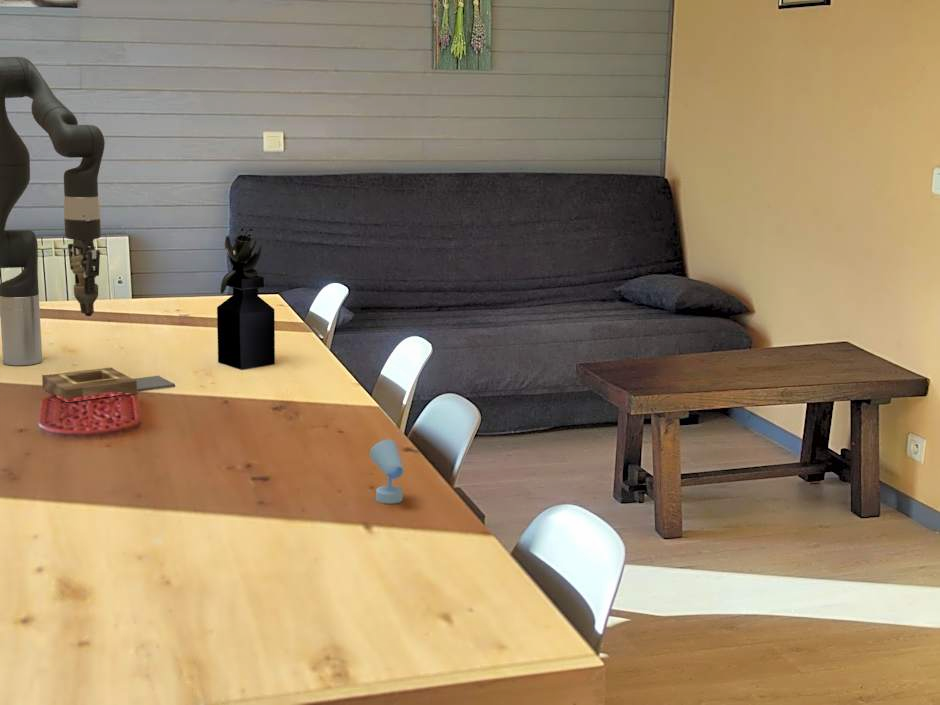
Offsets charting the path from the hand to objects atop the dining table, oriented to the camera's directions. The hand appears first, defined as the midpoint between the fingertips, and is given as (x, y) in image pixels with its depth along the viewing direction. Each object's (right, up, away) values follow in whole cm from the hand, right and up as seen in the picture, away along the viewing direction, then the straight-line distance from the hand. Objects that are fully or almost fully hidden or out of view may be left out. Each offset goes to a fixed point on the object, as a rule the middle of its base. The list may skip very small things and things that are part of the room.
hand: (85, 292), depth 245 cm
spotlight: (+72, -39, -59) cm, 101 cm away
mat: (+10, -21, +12) cm, 26 cm away
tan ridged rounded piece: (0, -6, +1) cm, 6 cm away
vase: (+28, -17, +37) cm, 49 cm away
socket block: (-1, -22, +5) cm, 23 cm away
